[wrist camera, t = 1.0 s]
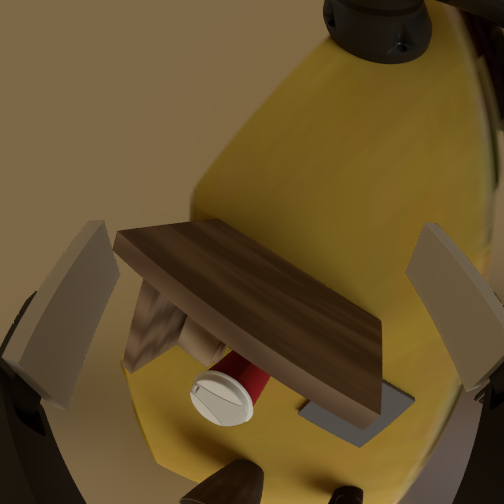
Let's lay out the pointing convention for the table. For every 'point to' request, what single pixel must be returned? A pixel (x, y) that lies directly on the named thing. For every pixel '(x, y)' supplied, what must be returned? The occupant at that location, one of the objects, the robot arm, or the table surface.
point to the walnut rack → (253, 313)
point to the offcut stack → (200, 343)
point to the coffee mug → (347, 495)
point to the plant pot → (229, 486)
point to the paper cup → (228, 390)
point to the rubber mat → (390, 410)
